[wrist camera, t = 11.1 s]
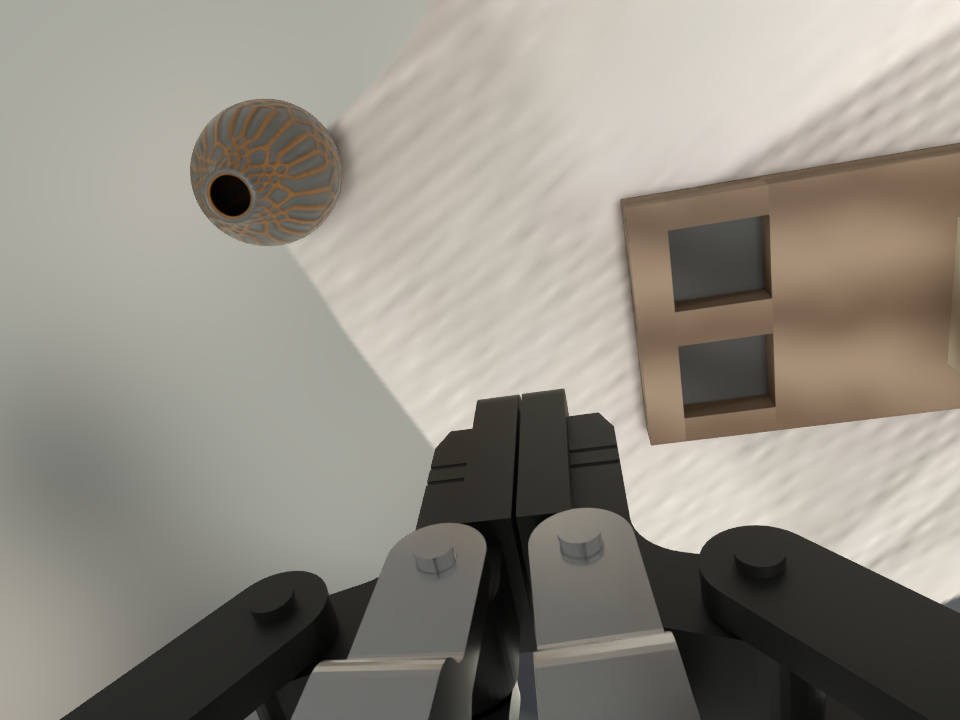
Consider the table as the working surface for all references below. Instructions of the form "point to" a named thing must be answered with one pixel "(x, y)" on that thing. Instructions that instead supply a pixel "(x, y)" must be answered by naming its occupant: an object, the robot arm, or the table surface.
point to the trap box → (796, 296)
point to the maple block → (955, 311)
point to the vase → (266, 172)
